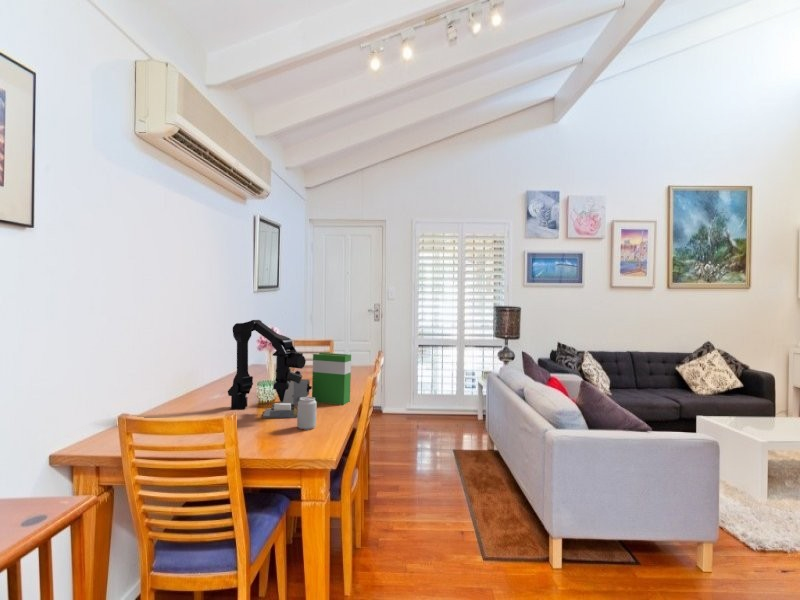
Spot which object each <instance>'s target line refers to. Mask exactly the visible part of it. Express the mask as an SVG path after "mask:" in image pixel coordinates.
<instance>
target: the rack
mask: <svg viewBox="0 0 800 600" xmlns="http://www.w3.org/2000/svg"><path fill="white" fill-rule="evenodd" d="M274 404H275V403H272V405H271V406H272V407H271V408H265V410H264V411H263V413H262V419H290V418H291V419H295V418H296V419H297V411H298V407H296V405H295V404H291V410H274Z"/></svg>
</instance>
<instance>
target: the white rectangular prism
mask: <svg viewBox="0 0 800 600" xmlns="http://www.w3.org/2000/svg"><path fill="white" fill-rule="evenodd" d="M273 404H274V410H291V403H280V402H275V403H273Z"/></svg>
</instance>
